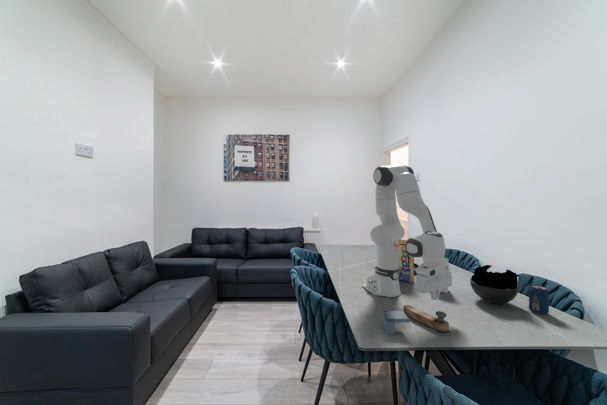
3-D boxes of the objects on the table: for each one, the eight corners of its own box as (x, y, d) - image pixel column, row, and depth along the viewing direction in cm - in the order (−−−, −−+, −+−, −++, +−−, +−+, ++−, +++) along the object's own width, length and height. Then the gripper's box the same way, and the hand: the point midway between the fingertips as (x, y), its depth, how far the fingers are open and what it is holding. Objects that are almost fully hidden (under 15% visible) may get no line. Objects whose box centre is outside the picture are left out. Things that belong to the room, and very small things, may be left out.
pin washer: (427, 328, 103) (427, 328, 103) (438, 324, 106) (438, 324, 106) (443, 337, 97) (443, 336, 97) (454, 332, 100) (454, 332, 100)
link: (451, 331, 101) (452, 314, 100) (443, 334, 98) (443, 317, 98) (408, 310, 119) (408, 296, 119) (400, 312, 116) (400, 298, 116)
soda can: (546, 311, 119) (546, 286, 119) (551, 317, 113) (551, 290, 113) (526, 307, 123) (527, 283, 122) (530, 313, 117) (531, 288, 116)
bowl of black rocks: (461, 294, 140) (462, 260, 139) (498, 294, 139) (499, 261, 139) (486, 310, 120) (487, 271, 119) (529, 311, 119) (530, 271, 119)
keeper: (387, 334, 99) (387, 318, 99) (382, 325, 106) (382, 310, 106) (408, 334, 99) (409, 319, 99) (402, 325, 106) (402, 310, 106)
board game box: (414, 280, 162) (414, 239, 162) (410, 283, 158) (411, 240, 157) (384, 274, 176) (384, 235, 176) (380, 276, 172) (380, 236, 171)
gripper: (442, 263, 119) (443, 292, 119) (412, 269, 110) (413, 301, 110) (455, 266, 114) (456, 297, 114) (425, 273, 104) (426, 306, 104)
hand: (435, 299), depth 112 cm, fingers closed
